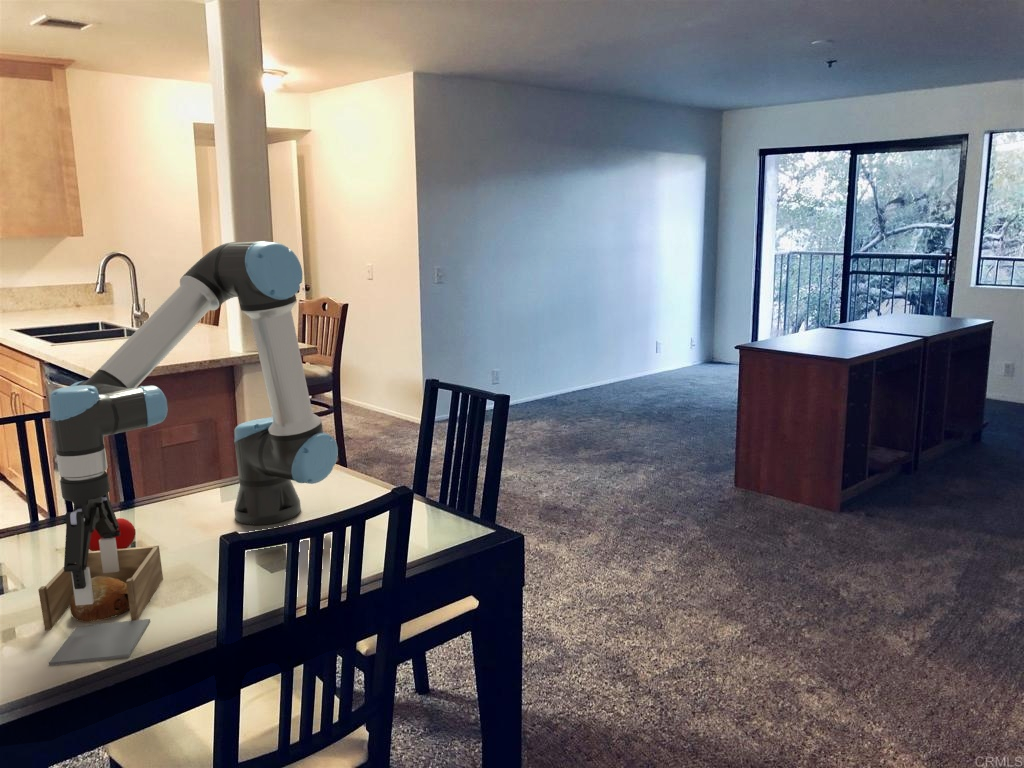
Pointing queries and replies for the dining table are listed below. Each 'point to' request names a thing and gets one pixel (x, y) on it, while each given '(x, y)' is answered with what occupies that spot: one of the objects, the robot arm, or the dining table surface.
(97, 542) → the red heart shape
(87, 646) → the slate board
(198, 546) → the dining table surface
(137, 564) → the box
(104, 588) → the bread roll
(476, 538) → the dining table surface
